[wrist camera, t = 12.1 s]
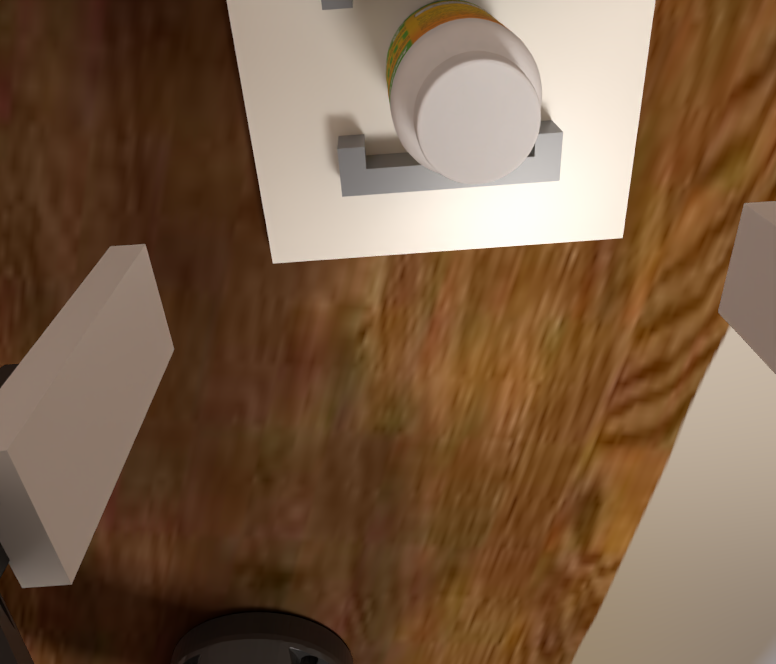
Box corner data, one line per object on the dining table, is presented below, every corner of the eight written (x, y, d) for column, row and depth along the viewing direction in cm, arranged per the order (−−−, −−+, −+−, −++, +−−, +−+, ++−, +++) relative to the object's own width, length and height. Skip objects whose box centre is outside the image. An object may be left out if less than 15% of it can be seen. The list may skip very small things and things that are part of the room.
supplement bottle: (380, 1, 27) (388, 38, 19) (509, -8, 27) (571, 25, 19) (388, 131, 30) (398, 211, 22) (505, 123, 30) (557, 200, 22)
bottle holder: (613, 226, 35) (636, 254, 32) (276, 250, 35) (268, 281, 32) (668, -208, 25) (709, -225, 22) (203, -172, 25) (182, -183, 22)
